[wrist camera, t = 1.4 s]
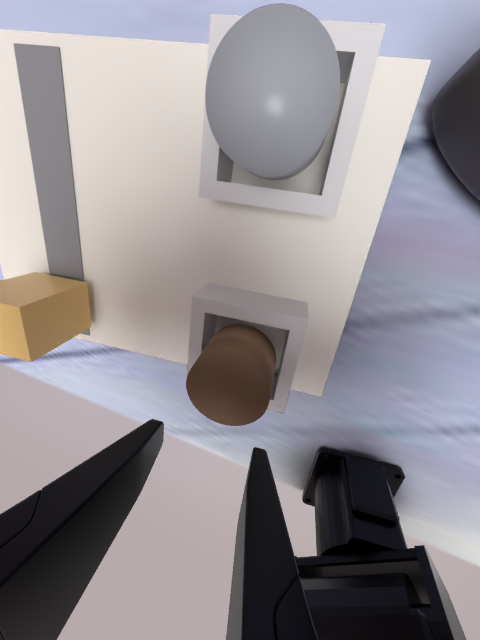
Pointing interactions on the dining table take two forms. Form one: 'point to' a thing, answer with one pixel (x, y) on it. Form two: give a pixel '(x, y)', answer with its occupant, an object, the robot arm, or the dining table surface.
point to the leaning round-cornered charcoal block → (461, 123)
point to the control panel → (193, 195)
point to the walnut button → (233, 376)
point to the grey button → (273, 90)
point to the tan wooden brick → (41, 314)
